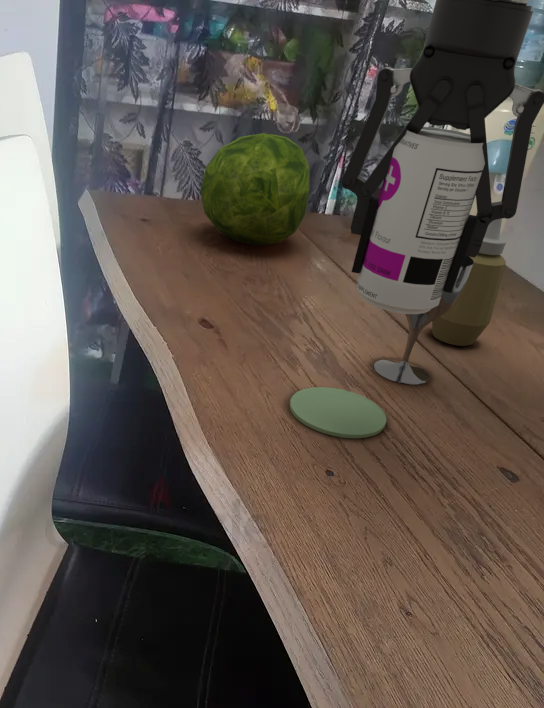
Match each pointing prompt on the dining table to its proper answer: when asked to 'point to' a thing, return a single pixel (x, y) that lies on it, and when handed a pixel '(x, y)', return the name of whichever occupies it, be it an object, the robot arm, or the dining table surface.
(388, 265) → the supplement can
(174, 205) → the dining table surface
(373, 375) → the dining table surface
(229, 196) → the lettuce
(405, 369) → the wine glass
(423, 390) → the dining table surface
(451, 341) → the squeeze bottle
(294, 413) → the coaster
